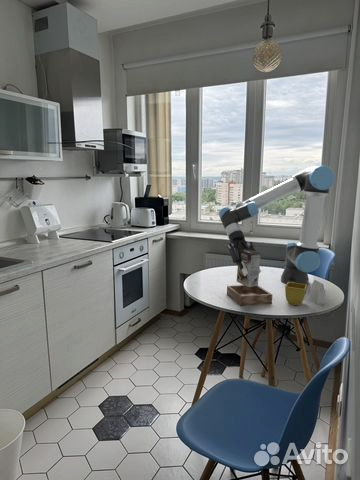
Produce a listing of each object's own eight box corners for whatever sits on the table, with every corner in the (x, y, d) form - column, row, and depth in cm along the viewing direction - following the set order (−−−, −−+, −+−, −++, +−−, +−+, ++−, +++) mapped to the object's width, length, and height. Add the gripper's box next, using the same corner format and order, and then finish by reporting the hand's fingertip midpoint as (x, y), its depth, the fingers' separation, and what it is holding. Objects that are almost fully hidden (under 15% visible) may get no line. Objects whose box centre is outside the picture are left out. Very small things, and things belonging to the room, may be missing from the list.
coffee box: (235, 281, 161) (238, 249, 158) (246, 280, 164) (248, 248, 161) (248, 287, 153) (250, 253, 150) (258, 285, 156) (261, 252, 153)
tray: (255, 292, 169) (256, 283, 168) (271, 303, 154) (272, 294, 153) (226, 294, 165) (227, 285, 164) (240, 306, 150) (240, 297, 149)
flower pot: (286, 298, 161) (288, 281, 159) (305, 302, 157) (307, 284, 155) (283, 304, 153) (285, 286, 151) (303, 308, 149) (305, 289, 147)
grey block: (317, 304, 154) (319, 284, 152) (309, 299, 161) (311, 279, 159) (324, 304, 155) (326, 283, 153) (315, 298, 161) (317, 279, 160)
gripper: (247, 237, 172) (265, 275, 161) (215, 239, 164) (231, 279, 153) (254, 228, 167) (273, 268, 155) (221, 230, 158) (239, 271, 147)
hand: (252, 273), depth 154 cm, fingers closed on coffee box, 7 cm apart
